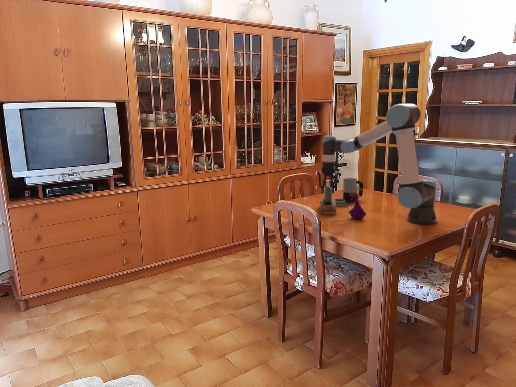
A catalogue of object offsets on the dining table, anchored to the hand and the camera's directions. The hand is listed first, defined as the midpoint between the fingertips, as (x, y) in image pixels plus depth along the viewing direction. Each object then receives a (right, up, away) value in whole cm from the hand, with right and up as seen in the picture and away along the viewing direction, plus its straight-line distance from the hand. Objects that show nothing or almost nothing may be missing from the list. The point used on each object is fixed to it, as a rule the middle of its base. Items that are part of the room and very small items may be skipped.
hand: (327, 198), depth 250 cm
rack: (-1, -7, -3) cm, 8 cm away
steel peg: (0, -3, +1) cm, 3 cm away
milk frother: (+19, -1, +25) cm, 31 cm away
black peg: (-1, -7, -8) cm, 10 cm away
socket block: (+9, -4, +11) cm, 15 cm away
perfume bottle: (+13, -11, -20) cm, 27 cm away
